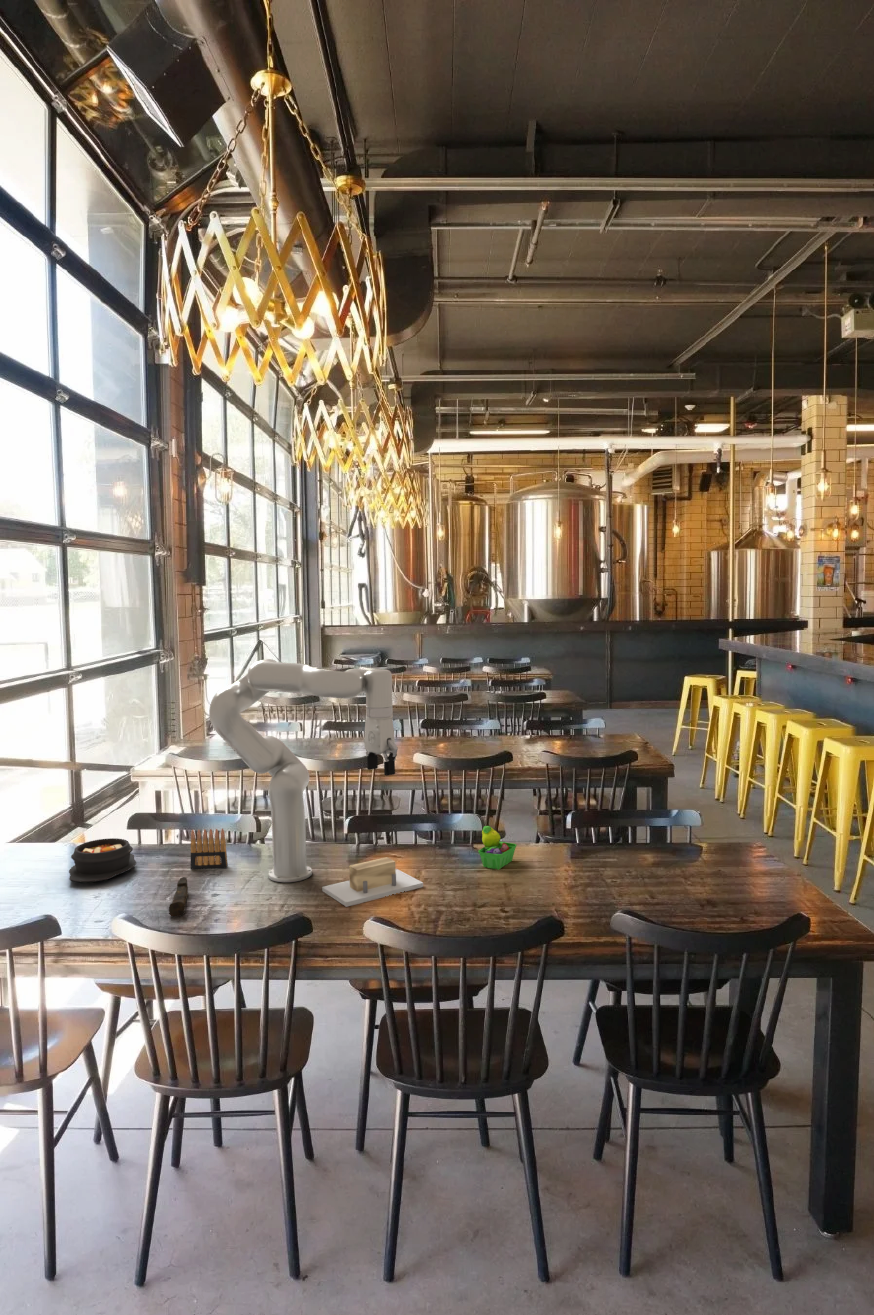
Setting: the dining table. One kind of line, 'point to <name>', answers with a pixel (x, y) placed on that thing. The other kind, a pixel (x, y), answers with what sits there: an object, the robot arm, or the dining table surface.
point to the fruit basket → (495, 849)
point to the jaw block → (372, 873)
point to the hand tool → (179, 898)
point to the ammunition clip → (208, 851)
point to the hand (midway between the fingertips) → (380, 771)
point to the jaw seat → (352, 897)
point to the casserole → (101, 860)
